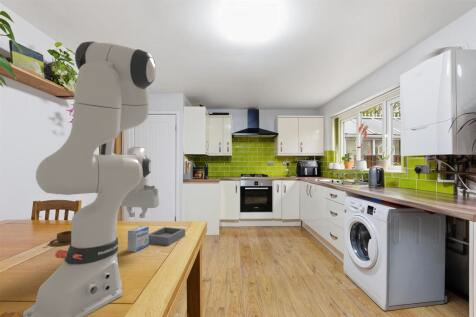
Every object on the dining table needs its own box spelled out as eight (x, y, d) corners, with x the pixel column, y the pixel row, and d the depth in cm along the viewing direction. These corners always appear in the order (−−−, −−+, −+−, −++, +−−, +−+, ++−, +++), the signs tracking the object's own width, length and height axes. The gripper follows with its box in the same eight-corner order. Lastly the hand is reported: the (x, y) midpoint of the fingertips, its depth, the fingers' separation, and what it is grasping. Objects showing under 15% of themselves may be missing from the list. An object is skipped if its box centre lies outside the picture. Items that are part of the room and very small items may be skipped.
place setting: (86, 236, 120) (86, 224, 120) (94, 247, 104) (94, 234, 104) (42, 244, 108) (42, 231, 108) (42, 258, 93) (43, 243, 93)
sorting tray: (185, 235, 118) (185, 228, 118) (168, 245, 105) (168, 237, 105) (164, 233, 122) (164, 226, 122) (146, 242, 109) (146, 234, 109)
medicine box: (136, 252, 97) (136, 231, 97) (127, 251, 99) (127, 230, 99) (149, 245, 105) (149, 226, 105) (140, 244, 106) (140, 225, 106)
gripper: (162, 185, 102) (162, 217, 101) (123, 184, 108) (123, 214, 108) (152, 186, 96) (152, 220, 95) (112, 185, 102) (112, 217, 102)
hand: (137, 217), depth 102 cm, fingers open, 4 cm apart
